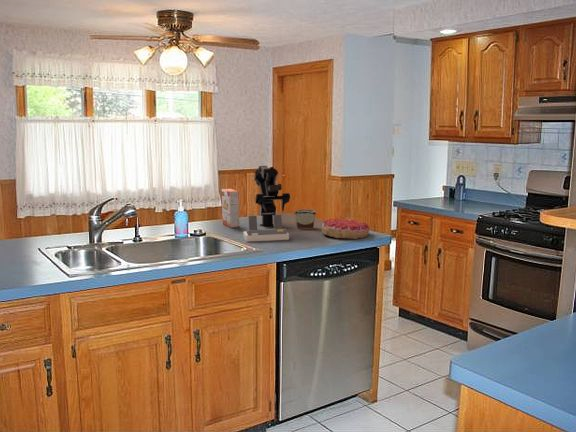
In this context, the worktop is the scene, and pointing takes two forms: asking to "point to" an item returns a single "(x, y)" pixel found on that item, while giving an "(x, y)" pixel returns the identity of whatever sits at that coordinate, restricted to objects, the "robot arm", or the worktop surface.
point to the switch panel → (266, 235)
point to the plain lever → (252, 222)
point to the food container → (305, 218)
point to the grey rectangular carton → (277, 221)
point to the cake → (345, 228)
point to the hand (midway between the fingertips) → (274, 211)
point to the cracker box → (230, 207)
